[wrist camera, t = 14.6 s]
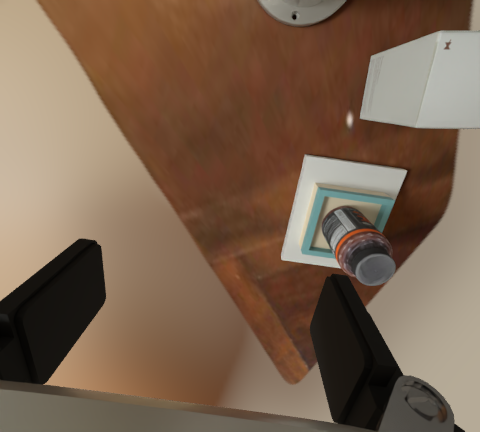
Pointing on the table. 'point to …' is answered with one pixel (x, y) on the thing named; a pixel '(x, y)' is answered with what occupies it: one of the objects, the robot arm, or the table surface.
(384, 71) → the supplement box
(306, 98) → the table surface
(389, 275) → the supplement bottle
